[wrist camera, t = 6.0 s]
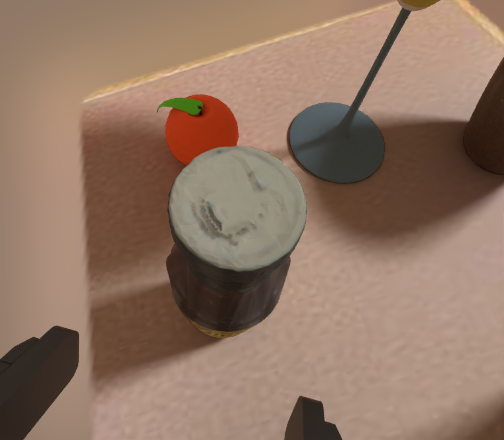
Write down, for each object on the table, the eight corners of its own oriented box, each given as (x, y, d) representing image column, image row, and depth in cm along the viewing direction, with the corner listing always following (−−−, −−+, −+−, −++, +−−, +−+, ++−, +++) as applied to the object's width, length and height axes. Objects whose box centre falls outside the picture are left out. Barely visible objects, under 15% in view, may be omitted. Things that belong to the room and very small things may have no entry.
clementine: (151, 168, 31) (131, 121, 25) (178, 117, 34) (166, 63, 27) (225, 191, 31) (224, 149, 24) (246, 138, 34) (250, 88, 27)
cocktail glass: (223, 131, 34) (211, -335, 11) (331, 59, 39) (479, -350, 16) (343, 250, 29) (768, -98, 6) (446, 151, 35) (874, -229, 12)
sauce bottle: (187, 340, 25) (79, 328, 7) (189, 266, 28) (112, 112, 9) (265, 336, 26) (355, 315, 8) (260, 264, 28) (321, 115, 10)
